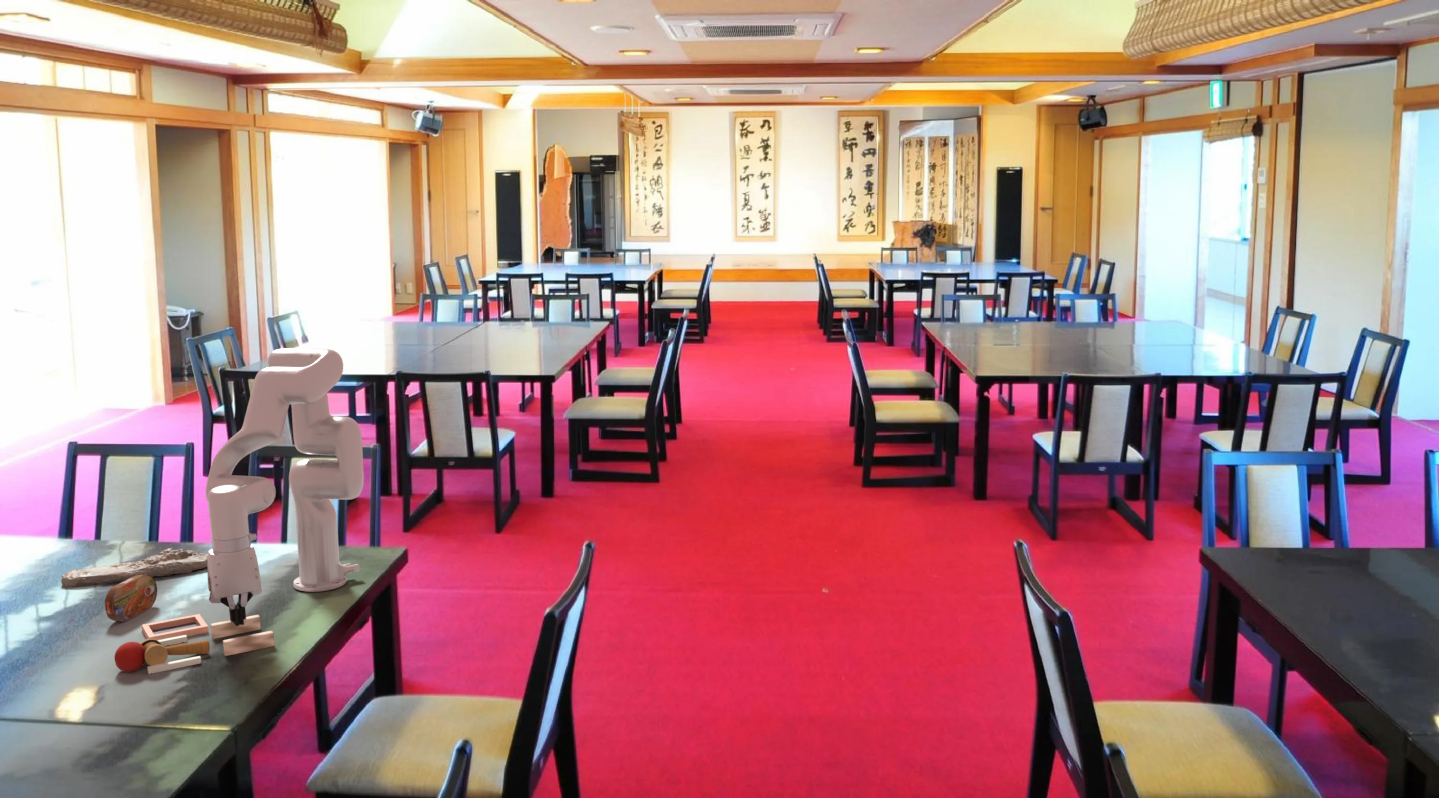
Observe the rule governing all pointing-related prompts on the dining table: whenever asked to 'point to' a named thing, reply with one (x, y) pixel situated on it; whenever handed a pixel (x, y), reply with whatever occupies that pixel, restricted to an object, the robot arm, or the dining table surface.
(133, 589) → the tin
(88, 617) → the dining table surface
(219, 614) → the dining table surface
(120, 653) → the kendama
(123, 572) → the elongated rock
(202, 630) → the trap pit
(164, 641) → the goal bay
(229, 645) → the lane
